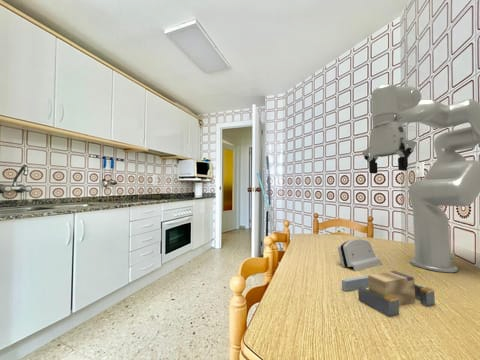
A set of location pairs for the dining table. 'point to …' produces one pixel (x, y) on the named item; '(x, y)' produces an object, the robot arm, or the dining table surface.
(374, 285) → the brown box
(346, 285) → the plank
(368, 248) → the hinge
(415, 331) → the dining table surface
